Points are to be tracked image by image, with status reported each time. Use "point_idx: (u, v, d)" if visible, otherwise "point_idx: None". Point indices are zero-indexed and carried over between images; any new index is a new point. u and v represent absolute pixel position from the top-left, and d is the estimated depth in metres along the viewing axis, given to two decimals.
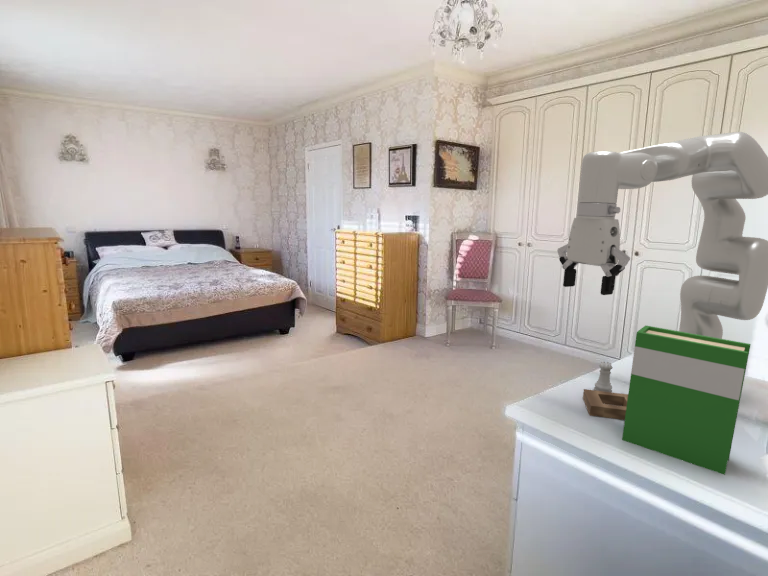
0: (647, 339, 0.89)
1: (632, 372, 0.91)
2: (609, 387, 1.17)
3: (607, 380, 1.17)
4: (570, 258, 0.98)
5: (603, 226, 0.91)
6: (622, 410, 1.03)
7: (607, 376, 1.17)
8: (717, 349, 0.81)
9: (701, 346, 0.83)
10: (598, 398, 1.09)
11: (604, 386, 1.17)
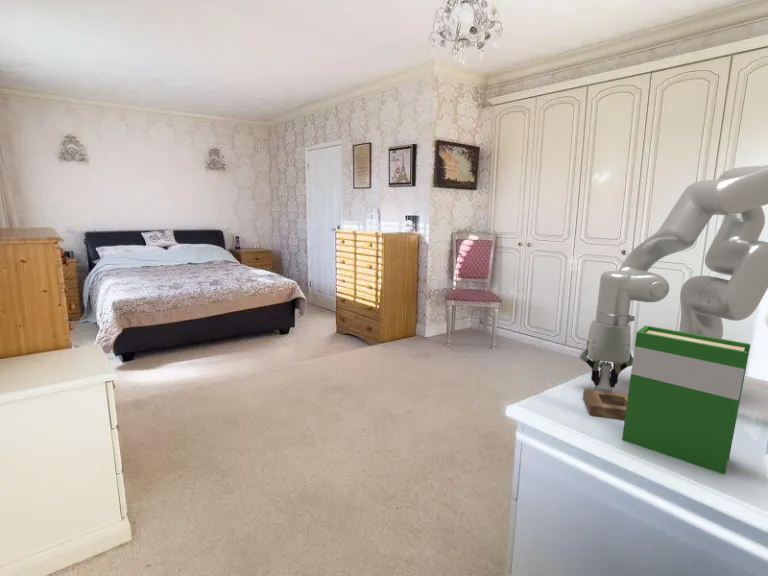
0: (647, 339, 0.89)
1: (632, 372, 0.91)
2: (609, 387, 1.17)
3: (607, 380, 1.17)
4: (594, 357, 1.16)
5: (628, 332, 1.13)
6: (622, 410, 1.03)
7: (607, 376, 1.17)
8: (717, 349, 0.81)
9: (701, 346, 0.83)
10: (598, 398, 1.09)
11: (604, 386, 1.17)
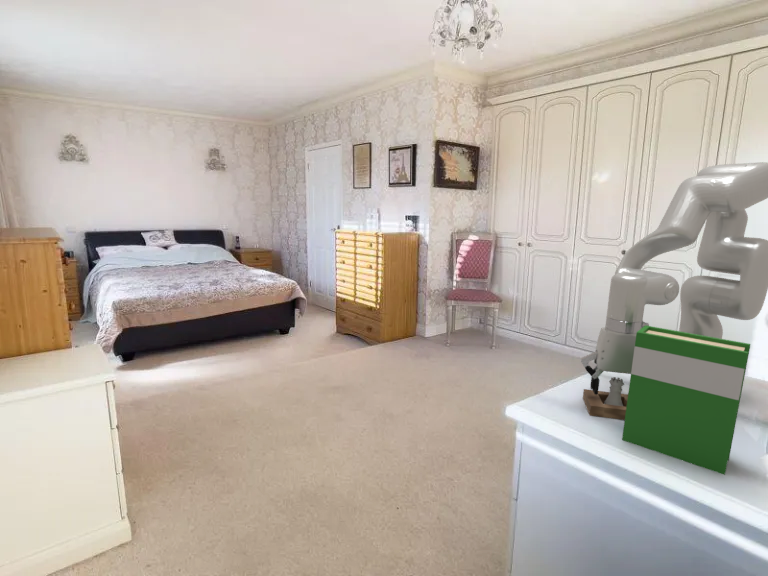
0: (647, 339, 0.89)
1: (632, 372, 0.91)
2: (620, 405, 1.06)
3: (618, 398, 1.06)
4: (603, 368, 1.05)
5: None
6: (622, 410, 1.03)
7: (618, 393, 1.06)
8: (717, 349, 0.81)
9: (701, 346, 0.83)
10: (598, 398, 1.09)
11: None
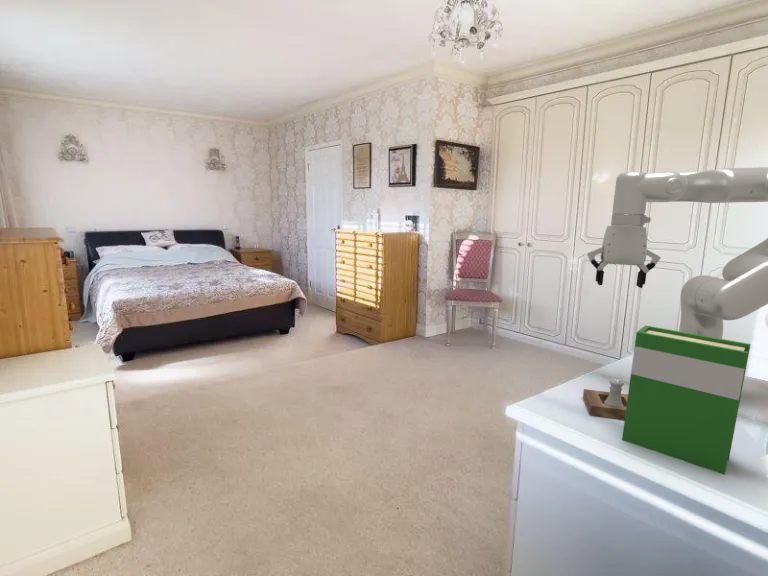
0: (647, 339, 0.89)
1: (632, 372, 0.91)
2: (620, 405, 1.06)
3: (618, 398, 1.06)
4: (609, 261, 1.16)
5: (644, 233, 1.12)
6: (622, 410, 1.03)
7: (618, 393, 1.06)
8: (717, 349, 0.81)
9: (701, 346, 0.83)
10: (598, 398, 1.09)
11: None
